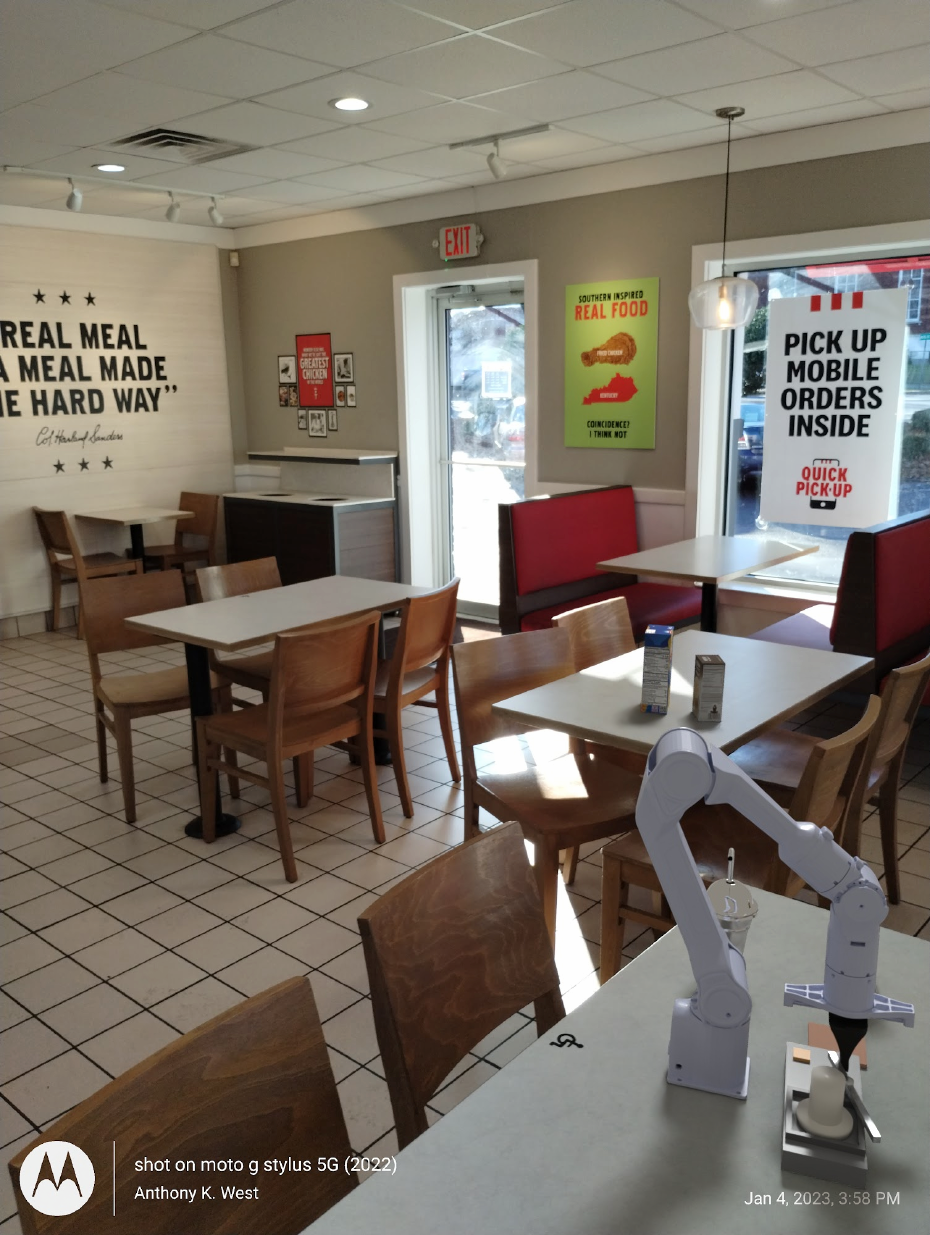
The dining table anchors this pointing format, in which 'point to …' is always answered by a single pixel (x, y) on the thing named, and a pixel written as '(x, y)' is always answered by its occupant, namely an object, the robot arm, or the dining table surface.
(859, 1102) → the clip
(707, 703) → the coffee box
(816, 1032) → the mat
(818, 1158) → the power strip
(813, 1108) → the plug
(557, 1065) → the dining table surface
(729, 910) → the cup with straw
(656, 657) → the beverage box
